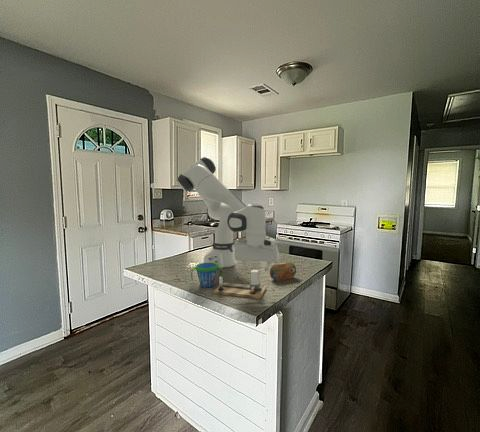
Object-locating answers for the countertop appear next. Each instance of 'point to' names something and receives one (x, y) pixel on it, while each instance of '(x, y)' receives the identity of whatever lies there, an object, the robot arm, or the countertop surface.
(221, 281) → the fixed leg
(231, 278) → the countertop surface
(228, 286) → the board
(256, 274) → the sliding pointer
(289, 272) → the tin
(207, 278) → the snack cup
